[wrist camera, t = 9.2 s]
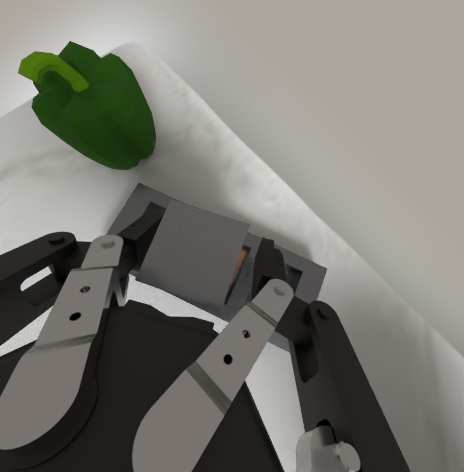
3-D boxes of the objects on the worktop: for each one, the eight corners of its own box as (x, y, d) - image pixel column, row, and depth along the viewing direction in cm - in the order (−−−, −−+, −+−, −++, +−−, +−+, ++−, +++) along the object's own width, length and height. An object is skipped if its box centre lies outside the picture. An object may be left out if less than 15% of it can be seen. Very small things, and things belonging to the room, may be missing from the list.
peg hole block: (109, 257, 18) (92, 255, 16) (149, 193, 20) (139, 182, 18) (287, 344, 17) (297, 356, 15) (314, 269, 19) (327, 268, 16)
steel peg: (188, 277, 18) (135, 279, 8) (202, 239, 19) (170, 199, 9) (226, 291, 17) (221, 310, 8) (239, 251, 18) (249, 224, 8)
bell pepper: (138, 107, 22) (68, -23, 12) (179, 151, 21) (138, 47, 11) (79, 145, 21) (-51, 32, 11) (119, 194, 20) (15, 118, 10)
